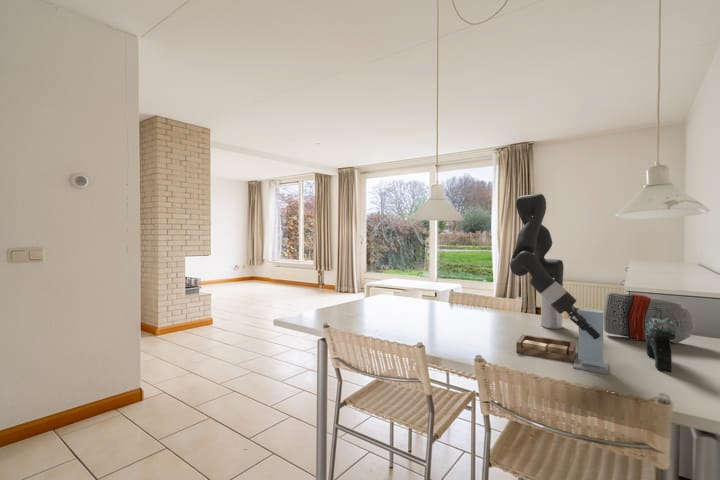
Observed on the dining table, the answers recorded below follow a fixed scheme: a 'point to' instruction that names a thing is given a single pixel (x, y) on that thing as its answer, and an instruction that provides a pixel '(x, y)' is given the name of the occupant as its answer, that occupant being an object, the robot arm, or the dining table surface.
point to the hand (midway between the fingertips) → (597, 335)
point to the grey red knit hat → (644, 315)
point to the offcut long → (535, 345)
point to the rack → (569, 344)
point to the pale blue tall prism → (587, 344)
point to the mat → (591, 366)
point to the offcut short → (558, 349)
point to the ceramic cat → (660, 341)
